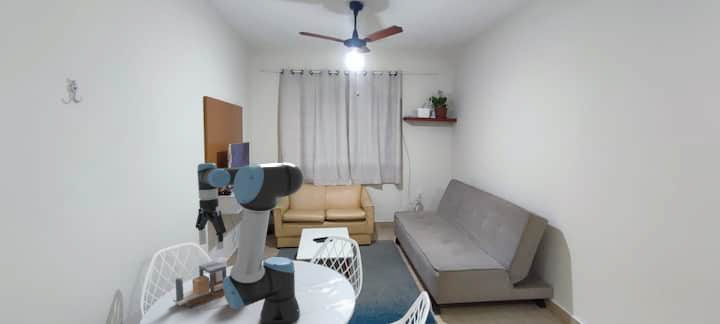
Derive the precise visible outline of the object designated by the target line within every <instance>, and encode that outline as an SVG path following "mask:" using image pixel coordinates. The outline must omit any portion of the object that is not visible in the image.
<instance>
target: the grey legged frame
mask: <svg viewBox="0 0 720 324" xmlns="http://www.w3.org/2000/svg"><path fill="white" fill-rule="evenodd" d="M221 270H222V279H224V278H225V277H227V268H226V266H224V265H222V264H220V263H218V262H215V261H212V262H210V261H209V262H205V263H203V264H198V271H199V273H198V274H199V276H202V275H204V271H205V272H206V273H208V274H209V287H210V293H208V294H205V295H203V296H200V297H198V298H195V299H192V300H190V301H188V302H187V303H185V304H183V305H184V306H185V307H187V308H189V309H192V308H194V307H197V306H199V305H202V304H204V303H207V302H209V301H211V300H213V299H214V300H215V299H216V298H218V297H221V296H225V295H224V292H223V286H222V281H223V280H220V281H218V282H216V272H218V271H221ZM192 291H193V290H191V291H189V292H192ZM189 292H186V293H185V292H184V293H183V295H184V294H187V293H189Z"/></svg>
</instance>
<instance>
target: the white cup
mask: <svg viewBox="0 0 720 324" xmlns="http://www.w3.org/2000/svg"><path fill="white" fill-rule="evenodd" d="M212 261H215V262H218V263H220V264H222V265H224V266H226V269H227V263H228V262H227V257H225V256H217V257H214V258H211V259H210V260H209V262H212ZM220 280H223V279H222V270H221V271H218V272H216V282H218V281H220Z"/></svg>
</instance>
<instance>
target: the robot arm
mask: <svg viewBox="0 0 720 324" xmlns="http://www.w3.org/2000/svg"><path fill="white" fill-rule="evenodd" d="M196 173H197V183H198V199H199V201H198V202H199V208H198V210H197V211H198V213H197V218H196V223H195V228H196V229H197V230H198V237H199V241H198V242H199V246H201V245H205V244H207V230H206V226H207V223H208V221H209V222H210V223H211V224H212V226H213V228H214V230H215V243H216V245H215V247H216V250H217V251H218V250H223V249H224V234H225V233H227V229H226V226H225V223H224V219H223V216H222V212H221V210H217V208H218V207H219V198H218V197H219V190H218V188H224V187H228V186H232V187H233V189H234V190H233V195H234V198H235V199H236V202H238V203H239V204H238V205H239V206H240V207H241V208H242V215H241V216H242V218H241V223H240V231H239V239H238V247H237V257H236V262H235V264H233V266H232V267H231V269H230V273H229V276H227V275H226V277H225V278H224V279H223V281H222V286H223V292H224V295H223V296H224V298H225V300H226V302H227V304H228V306H229V307H230V308H231V309H232V310H239V309H242V308H245V307H247V306H250V305H253V304H254V303H257V302H260V301H264V302H263V304H262V309H261V310H260V322H261V324H293V323H296V321H297V320H298V319H299V318H300V315H301V314H300V313H301V311H300V306H299V305H300V304H299V303H298V300H297V298H296V297H297V296H296V294H295V292H296V291H295V290H296V289H295V272H296V270H295V264H294V262H293V260H292V259H290V258H288V257H283V256H282V257H281V256H276V257H275V256H274V257H267V258H266V259H263V258H264V254H265V253H264V252H265V246H266V241H267V240H266V238H267V233H268V226H269V219H270V213H271V211H272V210H274V209H275V207H276V205H277V200H278V199H280V198H284V197H290V196H292V195H294V194H296V193H297V192H298V191H300V189H301V188H302V185H303V183H304V175H303V171H302V170H301V169H300V167H299V166H297V165H296V164H294V163H289V162H276V163H275V162H274V163H262V164H261V163H253V164H250V165H244V166H236V167H235V166H234V167H220V168H218V167H217V163H215V162H207V163H199V164H198V165H197V171H196Z"/></svg>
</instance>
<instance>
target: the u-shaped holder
mask: <svg viewBox="0 0 720 324" xmlns="http://www.w3.org/2000/svg"><path fill="white" fill-rule="evenodd" d="M191 279H192V290H191V291H192V292H191V291H189V293H188V292H186V293H187V294H185V293H184V283H183V280H184V279H183V277H177V278H176V279H175V296H176V297H174V298H172V301H173V302H174V303H175V304H177V305H178V306H182V305H184V304H185V303H187V302H188V301H190V300H192V299H195V298H198V297H200V296H203V295H205V294H208V293H210V287H209V285H210V277H208V276H207V275H205V274H203V275H202V276H200V275H199V276H196V277H194V278H191ZM183 294H184V295H183Z"/></svg>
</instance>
